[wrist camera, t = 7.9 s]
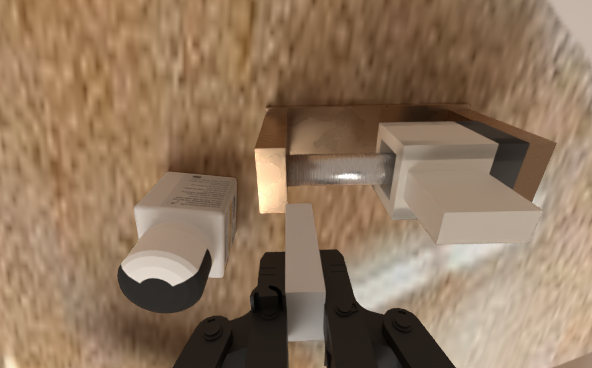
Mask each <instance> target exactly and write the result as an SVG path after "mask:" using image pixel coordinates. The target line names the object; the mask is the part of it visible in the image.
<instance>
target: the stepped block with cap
mask: <svg viewBox="0 0 592 368" xmlns="http://www.w3.org/2000/svg"><path fill="white" fill-rule="evenodd" d="M498 145H499V144H498V143H496V142H494V141H492V140H490V139H488V138H486V137H484V136H482V135H480V134H478V133H476V132H474V131H472V130H470V129H468V128H466V127H464V126H462V125H460V124H458V123H456V122H454V121H444V122H389V123H379V128H378V137H377V145H376V153H395V154H396V155H397V156H396V162H395V168H394V175H393V181H392V184H377V185H372V186H373V188H374V190H375V191H376V193H377V195H378V197H379V198H380V200H381V202H382V204H383V205H384V207H385V209H386V211H387V212H388V214H389V216H390V218H391V219H392V220H416V219H418V220H419V221H420V223H421V224H422V225H423V227H424V228H425V230H426V231H427V232H428V234H429V235H430V237H431V238H432V239H433V241H434V242H435V244H436V245H440V244H483V243H525V242H530V240H531V237H532V235H533V233H534V231H535V229H536V226H537V224H538V222H539V220H540V217H541V215H542V213H543V210H542V209H540V208H539V207H537V206H536V205H534V204H533V203H532V202H530V201H529V200H527V199H526V198H524V197H523V196H521V195H520V194H518V193H517V192H515V191H514V190H512V189H511V188H509V187H508V186H506V185H505V184H503V183H502V182H500V181H499V180H497V179H496V178H494V177H493V176H491V175H490V174H489V173H490V170H491V167H492V164H493V160H494V157H495V154H496V151H497V148H498Z"/></svg>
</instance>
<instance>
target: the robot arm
mask: <svg viewBox="0 0 592 368" xmlns="http://www.w3.org/2000/svg"><path fill="white" fill-rule="evenodd" d="M250 302H251V310H250V312H249V313H247V314H246V315H244V316H242V317H240V318H237V319H234V320H231V321H229V320H228V319H227V318H225V317H223V316H212V317H209V318H206V319H205V320H203V321H202V322H200V324H199V325H198V326H197V327H196V329H195V330H194V332H193V334H192V335H191V337H190V339H189V341H188V342H187V344H186V346H185V347H184V349H183V351H182V352H181V354H180V356H179V358H178V359H177V361H176V363H175V364H174V366H173V368H289V363H288V342H289V341H314V340H325V361H324V366H326V367H327V368H456V367H455V366H454V365H453V363H452V362H451V361H450V360H449V358H448V357H447V356H446V354H445V353H444V352H443V350H442V349H441V348H440V347H439V345H438V344H437V343H436V341H435V340H434V339H433V338H432V336H431V335H430V334H429V332H428V331H427V330H426V328H425V327H424V326H423V325H422V323H421V322H420V321H419V319H418V318H417V317H416V316H415V315H414V314H413V313H411V312H409V311H407V310H405V309H400V308H392V309H390V310H388V311H387V312H386V313H385V314H384V315H383V314H379V313H375V312H372V311H369V310H366V309H365V308H363V307H362V306H361V305H359V303H358V302H357V301H356V299H355V297H354V294H353V290H352V286H351V283H350V279H349V276H348V272H347V268H346V266H345V261H344V257H343V255H342V254H341V253H340V252H339V251H338V250H337V249H334V250H319V247H318V241H317V234H316V228H315V222H314V216H313V210H312V204H311V203H302V204H285V252H266V253H265V254H264V255H263V257H262V258H261V260H260V269H259V277H258V285H257V287H256V288H255V289H254V290H253V291H252V293H251V295H250Z"/></svg>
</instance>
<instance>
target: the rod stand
mask: <svg viewBox="0 0 592 368" xmlns="http://www.w3.org/2000/svg"><path fill="white" fill-rule="evenodd" d="M470 106H471V104H468V103H429V104H372V105H315V106H266V115H265V118H264V121H263V124H262V128H261V131H260V134H259V137H258V140H257V143H256V146H255V159H256V171H257V183H258V195H259V207H260V213H285V204H287V194H288V186H329V185H377V184H392V181H393V175H394V168H395V162H396V156H397V155H396V154H395V153H376V145H377V137H378V128H379V123H389V122H444V121H479V122H482V123H484V124H486V125H489V126H491V127H493V128H496V129H498V130H500V131H503V132H505V133H507V134H510V135H512V136H514V137H517V138H519V139H522V140H524V141H526V142H529V143H530V145H529V148H528V150H527V153H526V156H525V158H524V161H523V164H522V166H521V169H520V172H519V174H518V177H517V180H516V182H515V185H514V188H513V190H514V191H515V192H517V193H518V194H520V195H521V196H523V197H524V198H526V199H527V200H529V201H530V202H532V201H533V198H534V196H535V193H536V191H537V189H538V186H539V184H540V182H541V179H542V177H543V174H544V172H545V170H546V167H547V165H548V162H549V160H550V158H551V155H552V153H553V151H554V148H555V146H556V142H553V141H550V140H548V139H545V138H542V137H540V136H537V135H535V134H532V133H529V132H527V131H524V130H522V129H519V128H516V127H514V126H511V125H508V124H506V123H503V122H501V121H498V120H495V119H493V118H490V117H488V116H485V115H482V114H480V113H477V112H474V111H472V110H470Z"/></svg>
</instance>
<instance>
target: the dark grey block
mask: <svg viewBox="0 0 592 368" xmlns="http://www.w3.org/2000/svg"><path fill="white" fill-rule="evenodd" d="M454 122H456V123H458V124H460V125H462V126H464V127H466V128H468V129H470V130H472V131H474V132H476V133H478V134H480V135H482V136H484V137H486V138H488V139H490V140H492V141H494V142H496V143H498V144H499V145H498V148H497V151H496V154H495V157H494V160H493V164H492V167H491V170H490V173H489V174H490V175H491V176H493V177H494V178H496V179H497V180H499V181H500V182H502V183H503V184H505V185H506V186H508V187H509V188H511V189H512V190H513V188H514V185H515V182H516V180H517V177H518V174H519V172H520V169H521V166H522V164H523V161H524V158H525V156H526V153H527V150H528V148H529V145H530V143H529V142H526V141H524V140H522V139H519V138H517V137H514V136H512V135H510V134H507V133H505V132H503V131H500V130H498V129H496V128H493V127H491V126H489V125H486V124H484V123H482V122H479V121H454Z"/></svg>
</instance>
